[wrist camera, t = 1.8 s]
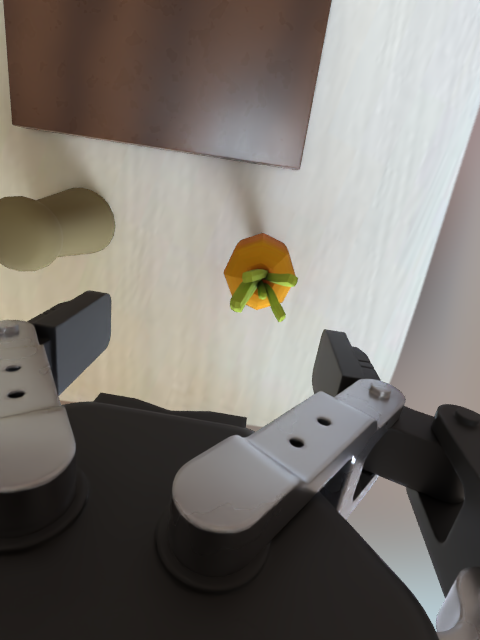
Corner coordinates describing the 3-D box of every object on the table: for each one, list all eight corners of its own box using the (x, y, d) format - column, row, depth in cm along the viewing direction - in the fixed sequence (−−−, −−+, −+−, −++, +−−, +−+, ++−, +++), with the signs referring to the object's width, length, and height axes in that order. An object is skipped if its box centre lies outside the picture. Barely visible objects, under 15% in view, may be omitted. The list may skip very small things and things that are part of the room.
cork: (74, 172, 33) (-12, 168, 23) (127, 219, 34) (68, 236, 24) (40, 223, 35) (-54, 240, 25) (91, 266, 36) (22, 299, 26)
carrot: (290, 224, 33) (308, 255, 19) (284, 277, 35) (297, 340, 21) (236, 220, 34) (215, 248, 20) (233, 273, 35) (212, 333, 21)
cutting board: (26, 128, 32) (11, 124, 30) (15, -57, 28) (-3, -74, 26) (297, 170, 32) (299, 169, 30) (331, -10, 27) (336, -24, 25)
